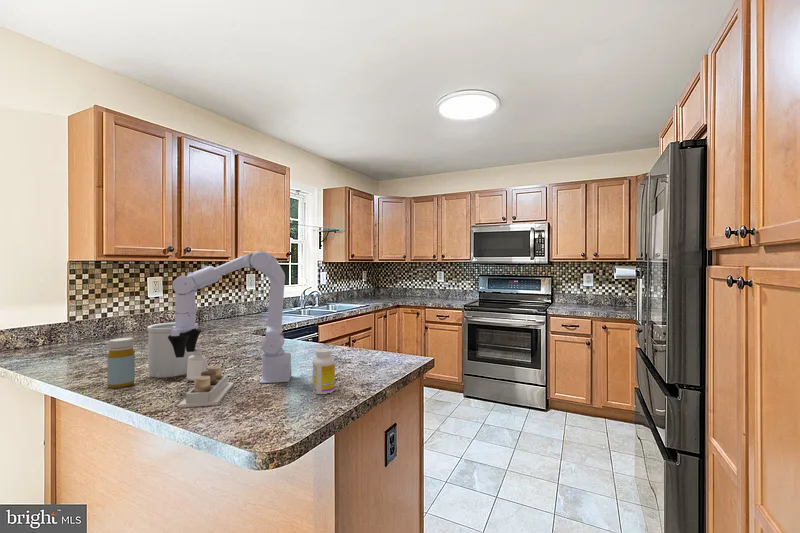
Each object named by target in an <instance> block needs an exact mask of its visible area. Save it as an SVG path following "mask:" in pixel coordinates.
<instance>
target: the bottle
mask: <svg viewBox="0 0 800 533" xmlns="http://www.w3.org/2000/svg"><path fill="white" fill-rule="evenodd" d="M108 342H109V343H108V344H109V345H108V346H109V351H108V353H107V365H106V366H107V370H106V371H107V374H106V375H107V377H106V378H107V381H106V382H107V387H108V388H110V389H120V388H126V387H129V386H132V385H134V383H135V381H136V380H135V378H136V375H135V370H136V368H135V365H136V362H135V355H136V354H135V350H134V338H133V337H118V338H113V339H110V340H109V341H108Z"/></svg>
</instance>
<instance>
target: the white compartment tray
mask: <svg viewBox="0 0 800 533" xmlns="http://www.w3.org/2000/svg"><path fill="white" fill-rule="evenodd" d="M234 383H235V382H234V381H233V382H232V381H231V382H229V375H228V374H221V380H216V385H211V386H210V391H209V392H197V393H194V386H193V387H192V388H190V389H189V390H188V391H187V392H185V398H183V399H182V400H181V401H180V402H179V403H178V404H177V408H178V409H179V408H192V407H206V406H207V407H208V406H218V405H219V404H220V403H221V401H222V400H223V399H224V398H225V397H226V395H227V394H228V393H229V391H230V390H231V389H232V388H233V387H234V385H235V384H234Z"/></svg>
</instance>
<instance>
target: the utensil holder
mask: <svg viewBox="0 0 800 533" xmlns="http://www.w3.org/2000/svg"><path fill="white" fill-rule="evenodd" d="M173 326H175V321H174V322H162V323H155V324H151V325H148V326H147V332H148V334H147V335H148V336H147V338H148V340H147V344H148V351H147V352H148V353H147V356H148V358H147V359H148V361H147V362H148V364H147V366H148V376H149V377H151V378H172V377H173V378H174V377H178V376H183V375H187V365H188V358H189V357H190V356H192V355H194V352H187V351H186V347H185V354H184V357H179V358H176V356H175V352H174V349H173V346H172V344H171V342H170V341H169V339H168V336H169V335H171V330H173V329H171V327H173Z"/></svg>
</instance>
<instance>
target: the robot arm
mask: <svg viewBox="0 0 800 533" xmlns="http://www.w3.org/2000/svg"><path fill="white" fill-rule="evenodd" d="M242 268H253V269H255V270H257V271H259V272H261V273H262V274H264V275H265V276H266V277H267V278H268V279H269V281H270V282H269V295H268V310H267V324H266V325H267V326H266V330H265V336H264V337H265V338H264V340H263V341H262V342H261V350H262V351H263V352H262V353H261V356H262V359H261V360H262V362H261V363H262V364H261V365H262V366H261V368H262V370H261V373H262V374H261V376H262V377H261V378H260V380H259V383H258V384H270V383H271V384H272V383H286V382H287V383H288V382H290V380H291V377H292V372H293V371H292V354H291V352H285V350H284V348H282V347H283V346H284V344H285V337H284V334H283V312H284V311H283V310H284V297H285V284H286V283H285V281H286V274H285V272H284V270H283V268H282V267H281V265H280V264H279V262H278V259H277V258H276V257H274V255H272V254H271V253H269V252H266V251H263V250H257V251H255V252H250V253H247V254H245V255H241V256H239V257H237V258H234V259H232V260H230V261H228V262H225V263H223V264H221V265H218V266H216V267H214V266H212V265H209V266H208V265H203V266H201V269H198V270H196V271H193V272H191V271H188V272H187V275H180V276H178V277H177V278H175V279H174V280H173V281H172V287H171V288H172V290H173V291H174V292H175V299H174V300H175V301H174V302H175V303H174V313H175V315H174V317H175V318H174V322H175V326H173V327H171V329H173V330H171V335H169V336H168V339H169V341H170V342H171V344H172V346H173V349H174V352H175V356H176V358H179V357H184V354H185V347H186V351H187V352H194V350H195V348H196V347H197V343H198V339H199V336H200V334H201V333H202V329H201V328H200V329H198V328H199V323H198V322H196V291H197V290H200V289H203V288H205V287H207V286H210V285H212V284H214V283H216V282H219V279H220V277H221V276H223V275H227V274H229V273H232V272H234V271H237V270H240V269H242Z"/></svg>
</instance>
